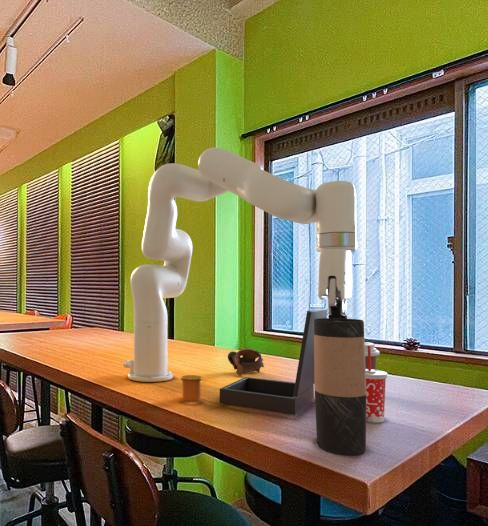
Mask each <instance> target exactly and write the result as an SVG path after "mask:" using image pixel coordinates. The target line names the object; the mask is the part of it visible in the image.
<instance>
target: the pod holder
mask: <svg viewBox="0 0 488 526" xmlns="http://www.w3.org/2000/svg"><path fill="white" fill-rule="evenodd" d="M294 387H295V382H294V381H293V382H292V381H284V380H276V379H266V378H259V377H251V376H245V377H243V378H240V379H238V380H236V381H234V382H231V383H229V384H227V385H224V386H222V387H220V388H219V404H221V405H228V406H234V407H240V408H247V409H253V410H259V411H266V412H272V413H279V414H284V415H291V416H297V414H299V412H301V411H302V410H303V409H304V408H305V407H306V406H308V405H309V404H310V403H311V402H312V401H314V400H315V384H314V385H312V386H311V387H310V388H308V389H307V390H306V391H304V392H303V393H302V394H300V395H299V396H298V397H295V396H293V393H294Z"/></svg>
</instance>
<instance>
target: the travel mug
mask: <svg viewBox="0 0 488 526" xmlns="http://www.w3.org/2000/svg"><path fill="white" fill-rule="evenodd" d="M365 340H366V339H365V321H364V320H363V319H358V318H347V319H343V318H329V317H326V318H318V319H315V320H314V404H315V405H314V407H315V425H316V426H315V427H316V441H317V442H316V443H317V446H318V448H320V449H321V450H323V451H325V452H329V453H332V454H336V455H341V456H358V455H362V454H364V453H365V452H366V450H367V449H366V448H367V417H366V368H365V342H366V341H365Z"/></svg>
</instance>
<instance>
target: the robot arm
mask: <svg viewBox="0 0 488 526" xmlns="http://www.w3.org/2000/svg"><path fill="white" fill-rule="evenodd" d="M197 168H198V169H197ZM197 168H193V167H191V166H189V165H188V166H187V165H184V164H180V163H175V162H172V163H165V164H163V165H161V166H159V167H158V168H157V169H156V170H155V171H154V173H153V174H152V175H151V177H150V180H149V184H148V192H147V210H146V216H145V222H144V228H143V235H142V240H141V253H142V254H143V256H144V257H145V258H147V259H150V260H154V261H162V262H163V264H152V263H151V264H150V263H149V264H148V263H147V264H141V265H139V266H137V267H136V268H135V269H133V271H132V273H131V276H130V281H129V282H130V284H129V285H130V291H131V295H132V303H133V360H129V359H127V360H126V359H125V362H124V363H123V364H122V365H123V368H124V369H129V371H130V372H128V373H127V378H128V379H129V380H131V381H134V382H141V383H158V382H165V381H170V380H172V379H174V373H173V372H172V371H170V370H168V363H169V362H168V360H169V359H168V358H169V357H168V356H169V355H168V343H169V342H168V339H169V338H168V336H169V335H168V329H169V328H168V325H169V323H168V320H169V319H168V318H169V317H168V308H167V306H166V304H165V301H164V299H171V298H172V299H174V298H178V297H179V296H181V295H182V294H183V293H184V292H185V289H186V286H187V284H188V278H189V275H190V269H191V262H192V257H193V256H192V255H193V242H192V238H191V236H190V235H189V234H188V233H187V232H186V231H184V230H182V229H178V228H176V226H177V219H178V207H177V203H176V201H175V198H181V199H184V200H188V201H193V202H198V203H199V202H206V201H209V200H212V199H214V198H216V197H219V196H220V195H223V194H226V193H228V192H230V193H231V194H234V195H235V196H238V198H239V197H240V198H241V199H242V200H244V201H246V202H247V203H248V204H251V206H254V207H256V208H258V209H259V210H262V211H263V212H265V213H267V214H270V215H271V216H273V217H276V218H278V219H280V220H285V221H289V222H293V223H296V224H302V225H311V224H315V223H316V252H318V253H319V259H318V283H317V284H318V291H317V295H318V299H319V300H323V301H325V300H326V301H327V304H328V307H327V309H328V318H343V319H348V315H347V311H348V310H347V308H348V307H347V306H348V305H347V304H348V302H347V301H348V300H350V299H351V298H352V296H353V265H352V252H357V251H358V241H357V239H358V238H357V237H358V236H357V235H358V234H357V192H356V186H355V185H354V183H352V182H350V181H346V180H333V181H326V182H324V183H321V184H320V185H318V186H317V187H316V189H313V188H307V187H304V186H302V185H300V184H296V183H294V182H292V181H289V180H286V179H284V178H281V177H279V176H277V175H275V174H273V173H270V172H268V171H266V170H264V169H263V166H262V165H260V164H259V163H257V162H254V161H252V160H249V159H247V158H244V157H242V156H241V155H239V154H237V153H234V152H232V151H229V150H227V149H224V148H221V147H210V148H207V149H205V150H204V151H202V153H201V154H200V155H199V158H198V161H197Z"/></svg>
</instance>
